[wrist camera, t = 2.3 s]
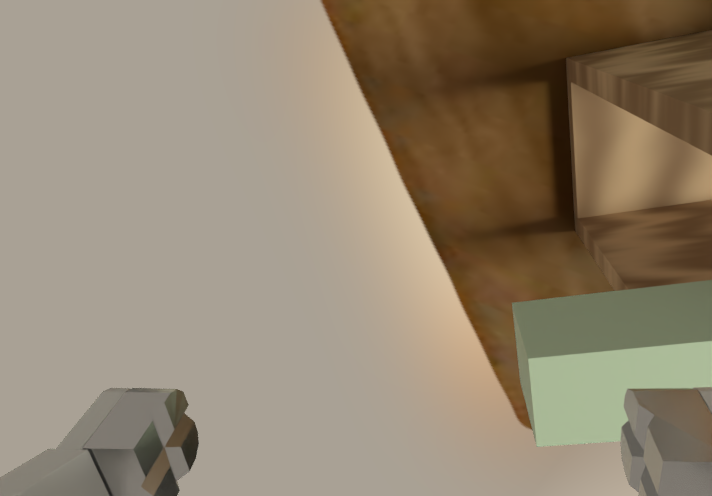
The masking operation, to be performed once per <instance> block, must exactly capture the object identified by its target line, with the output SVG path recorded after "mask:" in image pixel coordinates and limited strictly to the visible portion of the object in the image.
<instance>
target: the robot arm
mask: <svg viewBox="0 0 712 496" xmlns="http://www.w3.org/2000/svg"><path fill="white" fill-rule="evenodd" d="M187 407H188V403H187V400H186V397H185V395H184V392H182V391H180V390H177V389H147V388H132V389H126V388H110V389H108V390H105V391H103V392H102V393H101V394H100V396H99V397H98V398H97V399H96V401H95V402H94V403H93V404H92V405H91V407H90V408H89V409H88V410H87V412H86V413H85V414H84V415H83V416H82V418H81V419H80V420H79V421H78V422H77V424H76V425H75V426H74V427H73V428H72V430H71V431H70V432H69V433H68V435H67V436H66V437H65V438H64V440H63V441H62V442H61V443H60V444H59V446H58V447H57V448H56V449H47V450H46V451H44V452H42V453H41V454H39V455H37V456H36V457H34V458H32V459H31V460H29V461H27V462H26V463H24V464H22V465H21V466H19V467H17V468H15V469H14V470H12V471H11V472H9V473H7V474H5V475H4V476H2V477H0V496H177V495H178V493H179V486H178V482H177V480H179V479H180V478H181V477H182V476H184V475H185V474H187V473H188V472H189V471H190V469H191V467H192V465H193V463H194V461H195V459H196V455H197V449H198V444H199V442H198V431H197V428H196V425H195V422H194V421H193V420H192V419H190V418H189V417H188V416H187V415H186V414H185V411H186V409H187ZM624 409H625V412H626V415H627V417H628V421H627V422H626V423H625V424H624V425H623V426H622V427H621V454H622V461H623V466H624V470H625V473H626V477H627V480H628V483H629V485H631V486H632V487H633V488H634V489H635V490H636V491H638V492H639V496H712V387H695V388H692V389H691V388H644V389H627V391H626V394H625V399H624Z"/></svg>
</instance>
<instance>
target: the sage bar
mask: <svg viewBox="0 0 712 496" xmlns="http://www.w3.org/2000/svg"><path fill="white" fill-rule="evenodd" d="M512 308H513V317H514V326H515V336H516V345H517V355H518V364H519V374H520V382H521V386H522V390H523V394H524V398H525V402H526V406H527V410H528V414H529V418H530V422H531V426H532V430H533V434H534V438H535V442H536V446H537V447H540V446H555V445H569V444H585V443H598V442H614V441H621V427H622V426H623V425H624V424H625V423H626V422H627V421H628V417H627V415H626V412H625V409H624V399H625V394H626V391H627V389H644V388H691V389H692V388H695V387H712V280H706V281H697V282H689V283H680V284H672V285H663V286H654V287H646V288H637V289H628V290H620V291H611V292H602V293H594V294H585V295H576V296H568V297H559V298H551V299H542V300H533V301H525V302H516V303H512Z"/></svg>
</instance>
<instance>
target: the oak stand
mask: <svg viewBox="0 0 712 496" xmlns="http://www.w3.org/2000/svg"><path fill="white" fill-rule="evenodd" d="M566 70H567V89H568V107H569V126H570V144H571V162H572V181H573V199H574V218H575V232H576V233H577V235H578V236H579V238H580V239H581V241H582V242H583V244H584V245H585V247H586V248H587V250H588V251H589V253H590V254H591V256H592V257H593V259H594V260H595V262H596V263H597V265H598V266H599V268H600V269H601V271H602V272H603V274H604V275H605V277H606V278H607V280H608V281H609V283H610V284H611V286H612V287H613V289H614V290H615V291H620V290H628V289H637V288H646V287H654V286H663V285H672V284H680V283H689V282H697V281H706V280H712V30H709V31H704V32H699V33H693V34H688V35H683V36H678V37H672V38H667V39H662V40H657V41H652V42H646V43H641V44H636V45H631V46H626V47H620V48H615V49H610V50H605V51H599V52H594V53H589V54H584V55H579V56H573V57H568V58H566Z"/></svg>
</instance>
